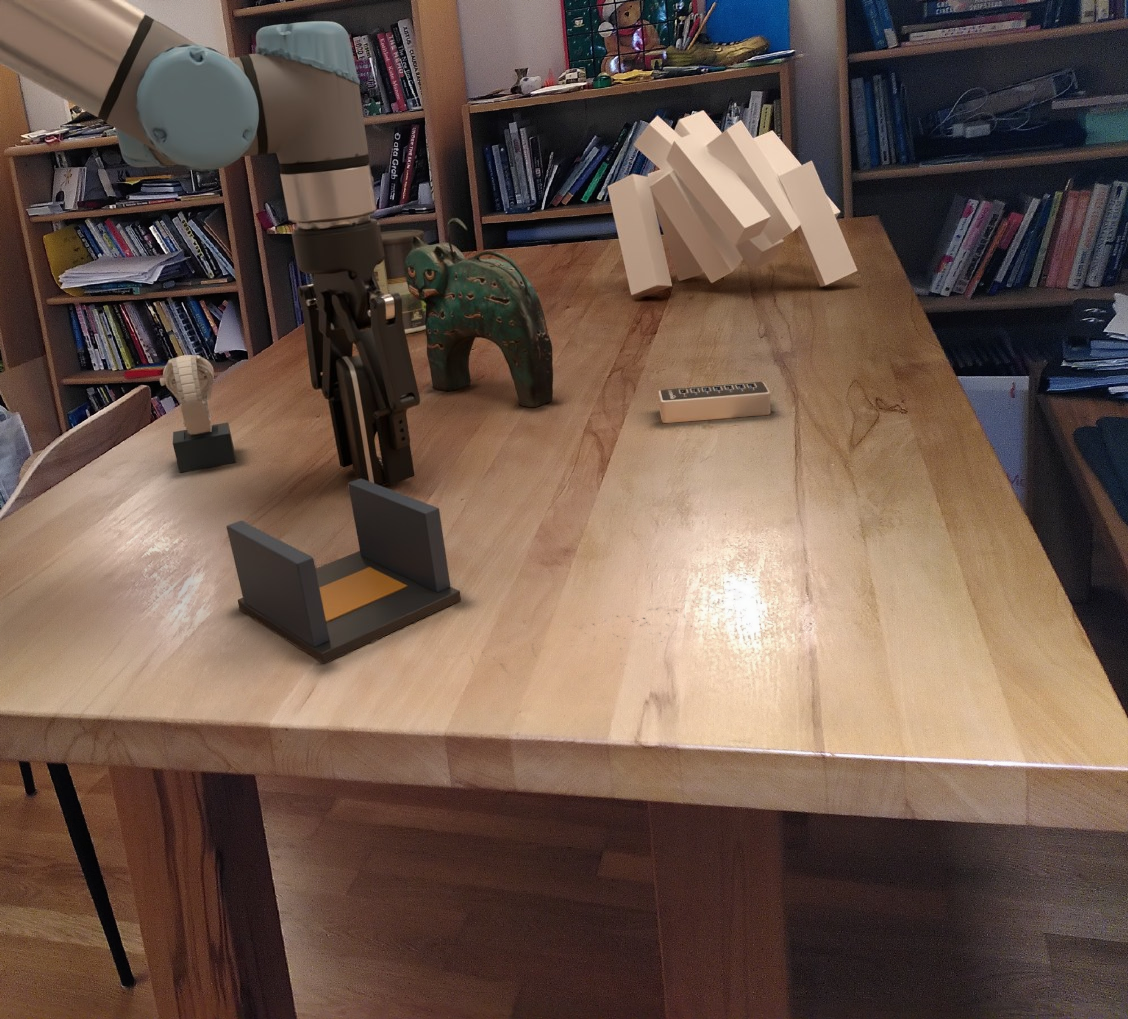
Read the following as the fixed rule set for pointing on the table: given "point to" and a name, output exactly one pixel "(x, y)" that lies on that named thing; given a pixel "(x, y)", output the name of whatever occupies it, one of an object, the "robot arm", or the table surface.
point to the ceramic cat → (480, 317)
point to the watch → (197, 415)
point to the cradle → (348, 576)
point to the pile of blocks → (721, 206)
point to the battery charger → (359, 418)
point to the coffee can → (400, 276)
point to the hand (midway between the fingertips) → (376, 470)
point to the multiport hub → (714, 402)
